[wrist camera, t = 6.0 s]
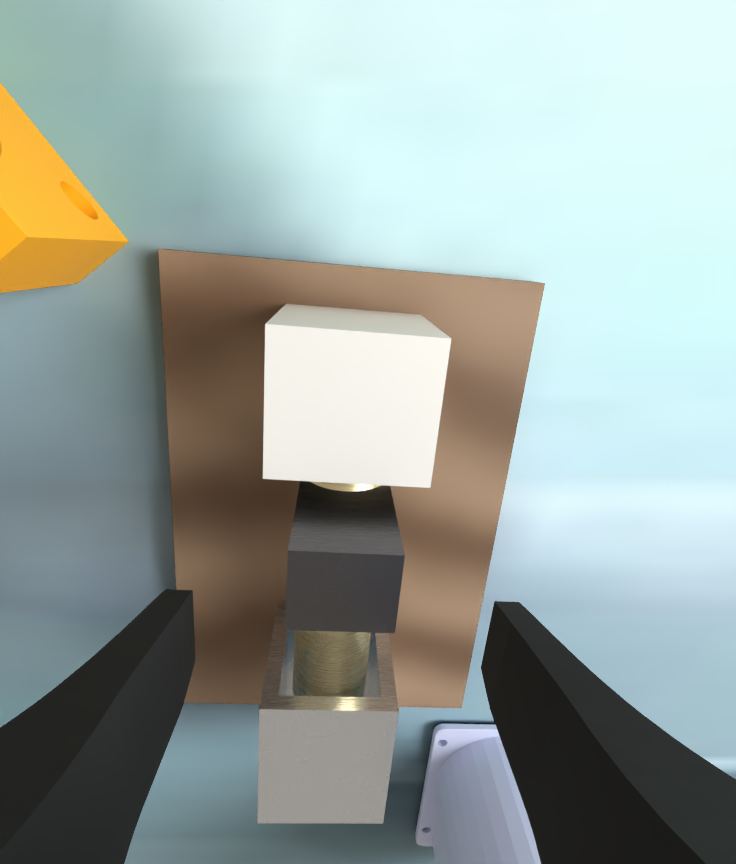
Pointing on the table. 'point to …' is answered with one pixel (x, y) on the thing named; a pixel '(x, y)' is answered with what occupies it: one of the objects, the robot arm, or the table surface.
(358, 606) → the block with brass knob
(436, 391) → the white square block
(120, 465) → the table surface
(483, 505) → the walnut board
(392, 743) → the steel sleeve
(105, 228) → the yellow u-shaped block
